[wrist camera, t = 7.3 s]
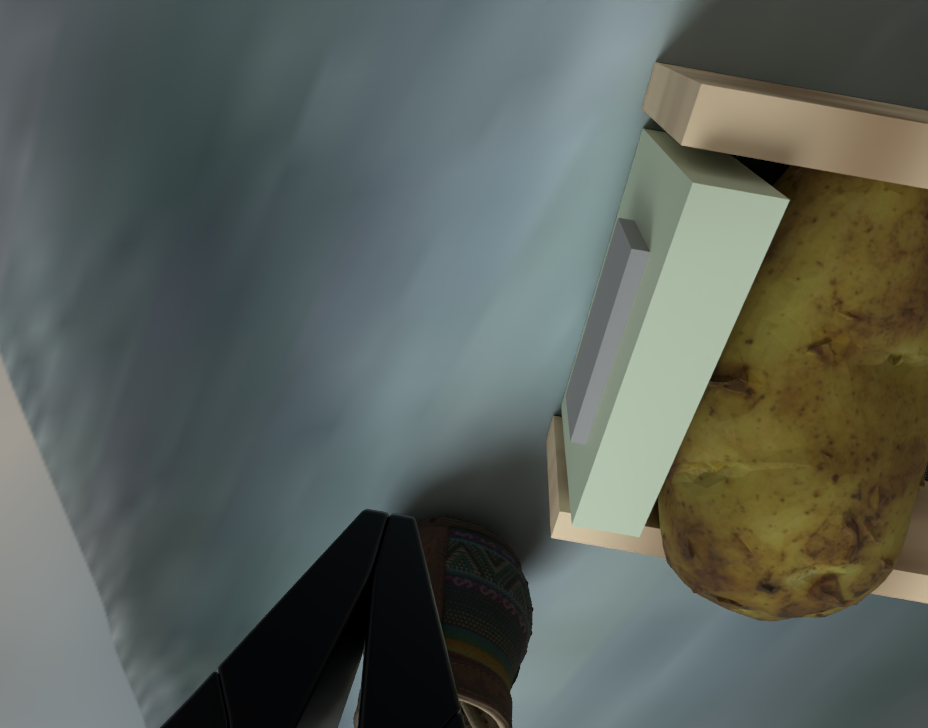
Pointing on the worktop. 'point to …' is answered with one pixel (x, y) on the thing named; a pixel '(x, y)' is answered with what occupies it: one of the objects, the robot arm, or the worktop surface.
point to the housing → (790, 142)
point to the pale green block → (659, 323)
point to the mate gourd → (478, 615)
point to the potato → (811, 410)
